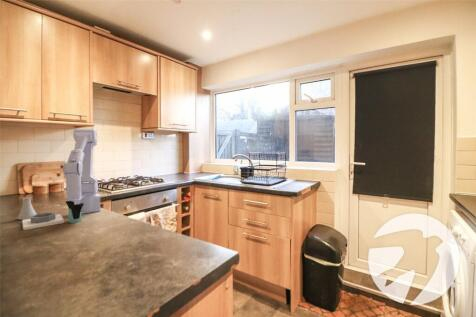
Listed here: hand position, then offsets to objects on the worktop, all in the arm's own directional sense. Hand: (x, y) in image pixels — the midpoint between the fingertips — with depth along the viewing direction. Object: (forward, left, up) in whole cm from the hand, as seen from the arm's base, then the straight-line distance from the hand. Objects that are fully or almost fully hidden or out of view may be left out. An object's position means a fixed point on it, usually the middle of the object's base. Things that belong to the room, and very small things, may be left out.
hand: (74, 217), depth 112 cm
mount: (+11, -8, -2) cm, 14 cm away
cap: (0, 0, -2) cm, 2 cm away
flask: (+16, -23, -2) cm, 28 cm away
